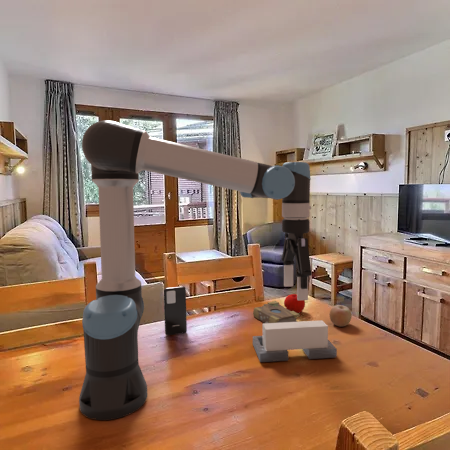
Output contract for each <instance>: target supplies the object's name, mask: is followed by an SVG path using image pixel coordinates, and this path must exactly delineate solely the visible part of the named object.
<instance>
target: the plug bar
mask: <svg viewBox="0 0 450 450" xmlns="http://www.w3.org/2000/svg"><path fill="white" fill-rule="evenodd" d="M261 326H262V327H261V328H262V331H261V332H262V336H263V346H264V348H265V351H278V350H287V351H290V350H302V349H310V348H327V347H328V340H329V325H328V324H326V323H325V321H324V320H308V321H307V320H304V321H297V322H282V323H264V322H263V323H262V325H261Z"/></svg>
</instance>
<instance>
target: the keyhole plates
mask: <svg viewBox="0 0 450 450" xmlns="http://www.w3.org/2000/svg"><path fill="white" fill-rule="evenodd" d="M252 345H253V348H254V350H255V353H256V355H257V357H258V361H259V362H260V363H265V362H266V363H268V362H285V361H287V362H288V361H289V350H278V351H265V348H264V346H263V335H254V336H253V335H252ZM301 350H302V351H303V352H304V354H305V355H306V357H307V358H308V359H309V360H316V359H330V358H332V359H333V358H337V357H338V356H337V352H338V351H337V350H338V349H337V348H336V346H334V344H333V343H332V342H331V341H330V340H329V339H328V347H327V348H310V349H301Z"/></svg>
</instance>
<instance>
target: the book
mask: <svg viewBox="0 0 450 450" xmlns="http://www.w3.org/2000/svg"><path fill="white" fill-rule="evenodd" d="M252 312H253V313H252V315H253V317H254V318H255V319H257V320H258V321H260V322H262V323H263V324H264V323H282V322H298V321H297V318H299V317H300V316H301V315H300V313H296V312H294V311H290V310H288V309H286V307H285V306H283V305H281V304H280V302H279V301H276V300H274V301H268V302H267V303H264V304H263V305H262V306H257V307H254V308H253V311H252Z"/></svg>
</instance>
